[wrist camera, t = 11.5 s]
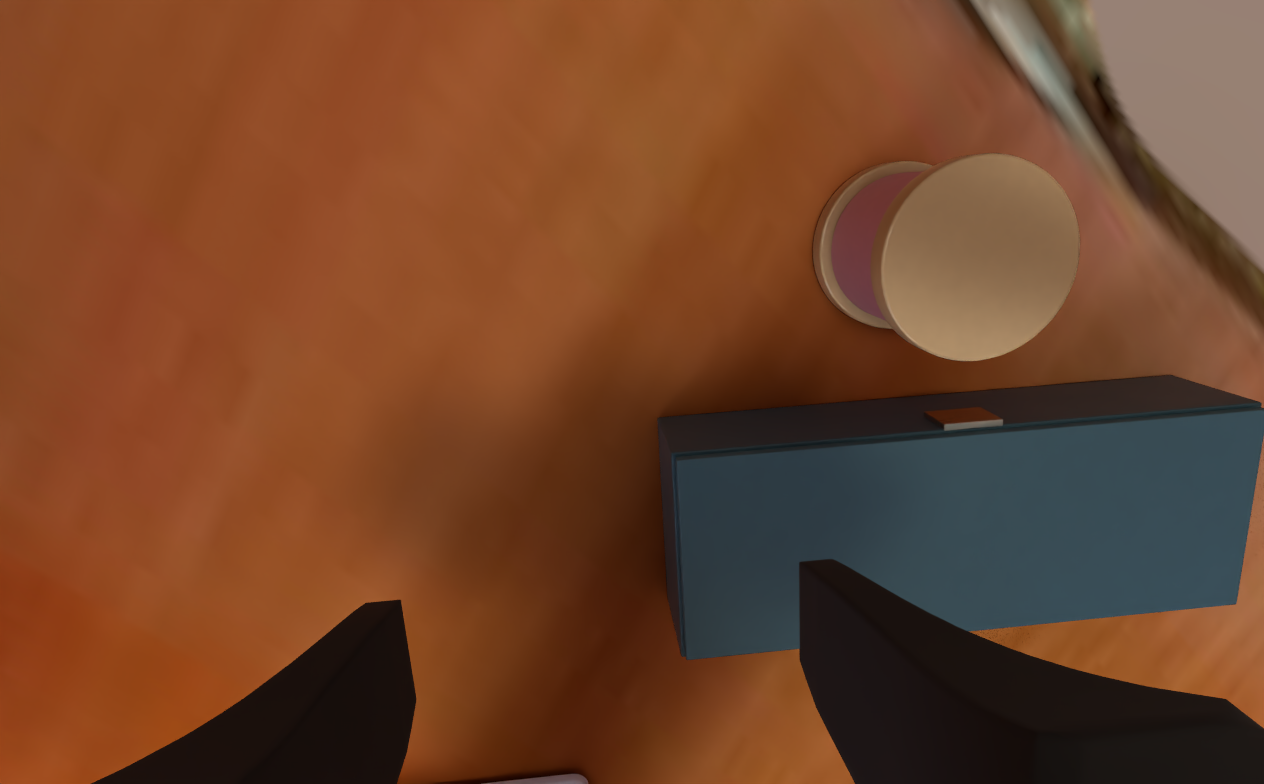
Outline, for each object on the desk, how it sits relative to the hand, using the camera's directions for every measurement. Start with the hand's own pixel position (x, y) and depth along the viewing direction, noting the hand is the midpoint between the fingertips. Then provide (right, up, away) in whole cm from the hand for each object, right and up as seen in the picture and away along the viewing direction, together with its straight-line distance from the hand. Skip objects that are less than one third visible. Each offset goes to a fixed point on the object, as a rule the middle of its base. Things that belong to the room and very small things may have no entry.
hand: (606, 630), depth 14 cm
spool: (+8, +8, +8) cm, 14 cm away
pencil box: (+9, +1, +10) cm, 14 cm away
